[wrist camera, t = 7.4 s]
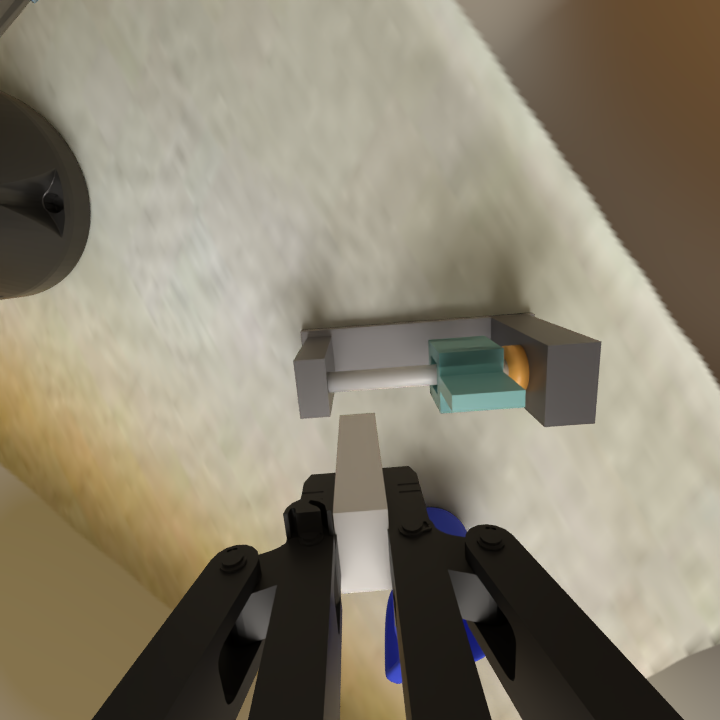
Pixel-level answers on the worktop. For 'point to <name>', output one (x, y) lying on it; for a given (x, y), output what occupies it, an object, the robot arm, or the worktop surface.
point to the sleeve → (472, 376)
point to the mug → (392, 661)
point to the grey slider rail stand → (411, 364)
